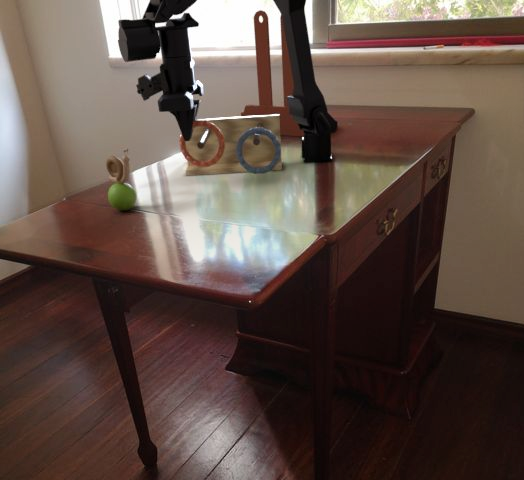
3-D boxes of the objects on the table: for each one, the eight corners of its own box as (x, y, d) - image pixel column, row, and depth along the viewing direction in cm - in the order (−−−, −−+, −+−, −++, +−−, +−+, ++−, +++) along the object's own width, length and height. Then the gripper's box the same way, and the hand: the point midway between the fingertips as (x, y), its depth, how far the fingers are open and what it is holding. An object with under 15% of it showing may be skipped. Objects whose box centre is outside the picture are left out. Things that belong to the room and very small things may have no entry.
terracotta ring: (227, 165, 119) (222, 118, 113) (226, 166, 118) (221, 119, 112) (183, 167, 119) (177, 121, 114) (182, 168, 118) (176, 122, 113)
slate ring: (281, 171, 120) (279, 125, 115) (281, 173, 119) (279, 127, 114) (238, 173, 121) (234, 128, 116) (238, 175, 120) (234, 129, 115)
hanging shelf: (337, 126, 159) (338, 4, 142) (316, 137, 150) (314, 7, 134) (266, 122, 171) (259, 8, 154) (242, 132, 162) (232, 12, 145)
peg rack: (281, 162, 131) (279, 113, 125) (280, 184, 117) (278, 130, 111) (190, 168, 133) (183, 119, 127) (178, 190, 119) (170, 136, 113)
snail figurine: (129, 216, 107) (116, 152, 100) (105, 212, 110) (91, 150, 103) (148, 207, 110) (136, 145, 104) (124, 203, 114) (112, 143, 107)
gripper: (146, 53, 115) (158, 132, 124) (123, 64, 100) (139, 153, 108) (199, 50, 115) (208, 129, 123) (184, 60, 99) (196, 150, 108)
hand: (187, 140), depth 116 cm, fingers closed on terracotta ring, 1 cm apart
